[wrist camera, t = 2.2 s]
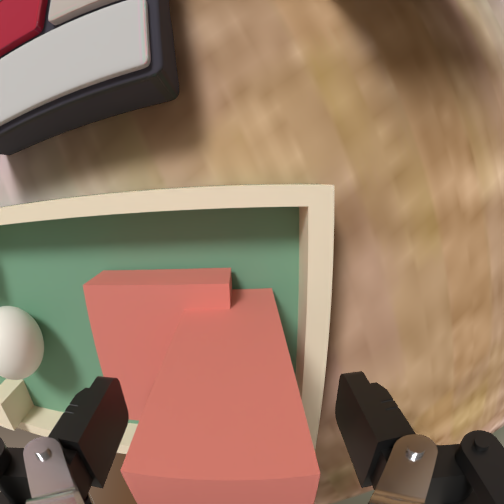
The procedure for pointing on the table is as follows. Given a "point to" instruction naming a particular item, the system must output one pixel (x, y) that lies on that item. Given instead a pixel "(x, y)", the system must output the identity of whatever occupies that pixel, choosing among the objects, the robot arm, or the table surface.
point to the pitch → (163, 257)
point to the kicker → (203, 388)
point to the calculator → (80, 64)
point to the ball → (19, 343)
